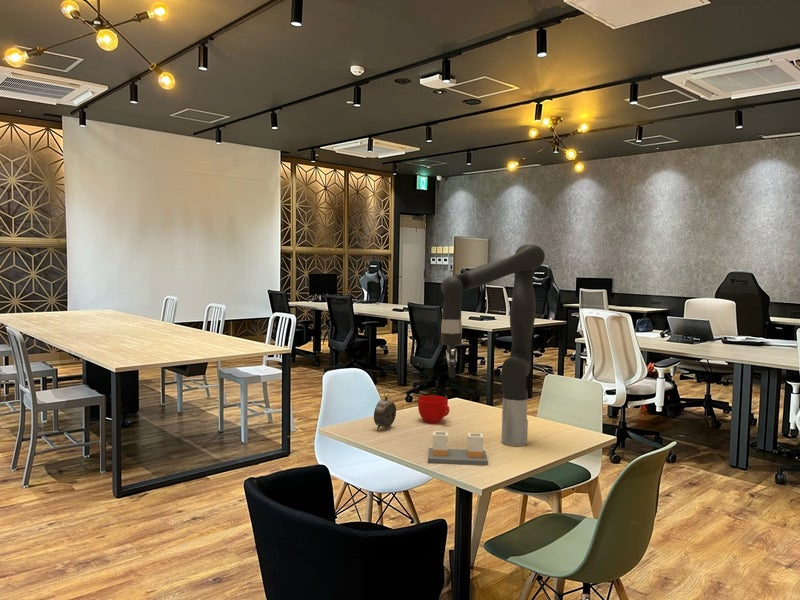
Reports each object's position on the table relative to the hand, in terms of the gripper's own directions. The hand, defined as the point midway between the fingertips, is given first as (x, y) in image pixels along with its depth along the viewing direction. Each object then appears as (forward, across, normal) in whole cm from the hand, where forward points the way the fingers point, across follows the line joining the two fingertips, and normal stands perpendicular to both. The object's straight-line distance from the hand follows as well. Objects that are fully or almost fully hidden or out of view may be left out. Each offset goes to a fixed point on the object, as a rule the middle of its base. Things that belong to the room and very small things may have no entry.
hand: (451, 375), depth 217 cm
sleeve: (+25, +15, -5) cm, 29 cm away
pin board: (+26, +15, +1) cm, 30 cm away
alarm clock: (+26, -20, -26) cm, 41 cm away
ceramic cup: (+26, -33, -5) cm, 43 cm away
